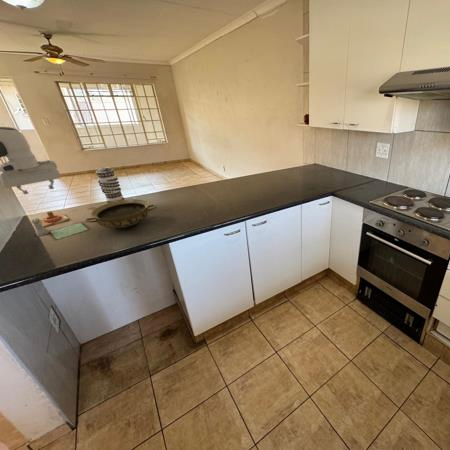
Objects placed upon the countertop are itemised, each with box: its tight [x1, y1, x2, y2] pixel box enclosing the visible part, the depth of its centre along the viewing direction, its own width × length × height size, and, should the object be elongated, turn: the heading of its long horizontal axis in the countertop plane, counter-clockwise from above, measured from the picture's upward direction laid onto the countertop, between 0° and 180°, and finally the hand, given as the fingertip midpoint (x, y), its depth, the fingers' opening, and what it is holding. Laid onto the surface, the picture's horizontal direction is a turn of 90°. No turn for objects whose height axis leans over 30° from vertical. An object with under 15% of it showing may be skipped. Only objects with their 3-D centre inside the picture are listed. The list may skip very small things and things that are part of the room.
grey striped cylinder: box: [95, 166, 125, 204], centre depth 138 cm, size 9×9×25 cm
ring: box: [42, 214, 62, 223], centre depth 130 cm, size 7×7×1 cm
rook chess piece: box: [30, 217, 50, 237], centre depth 117 cm, size 4×4×8 cm
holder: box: [40, 210, 69, 228], centre depth 129 cm, size 10×10×6 cm
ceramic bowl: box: [84, 198, 157, 229], centre depth 124 cm, size 30×24×10 cm
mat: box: [50, 222, 89, 240], centre depth 121 cm, size 12×12×1 cm
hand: (39, 191), depth 122 cm, fingers open, 8 cm apart
